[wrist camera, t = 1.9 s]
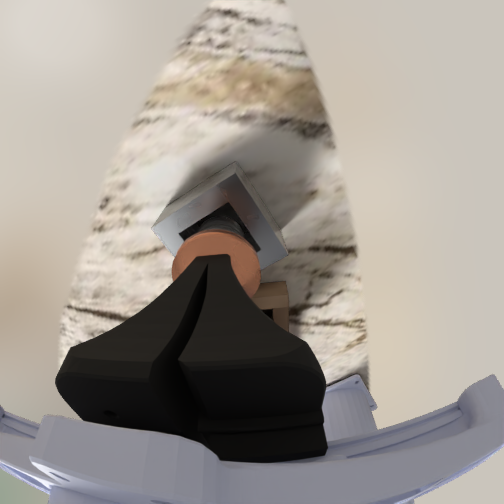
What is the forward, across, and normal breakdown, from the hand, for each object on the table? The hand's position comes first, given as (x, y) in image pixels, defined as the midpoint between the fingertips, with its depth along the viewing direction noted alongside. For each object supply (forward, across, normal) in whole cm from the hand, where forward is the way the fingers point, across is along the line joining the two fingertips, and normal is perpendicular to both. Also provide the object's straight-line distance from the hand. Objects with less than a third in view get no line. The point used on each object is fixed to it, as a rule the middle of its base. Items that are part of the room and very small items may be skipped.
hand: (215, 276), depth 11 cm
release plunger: (+4, 0, 0) cm, 4 cm away
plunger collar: (+6, 0, 0) cm, 6 cm away
